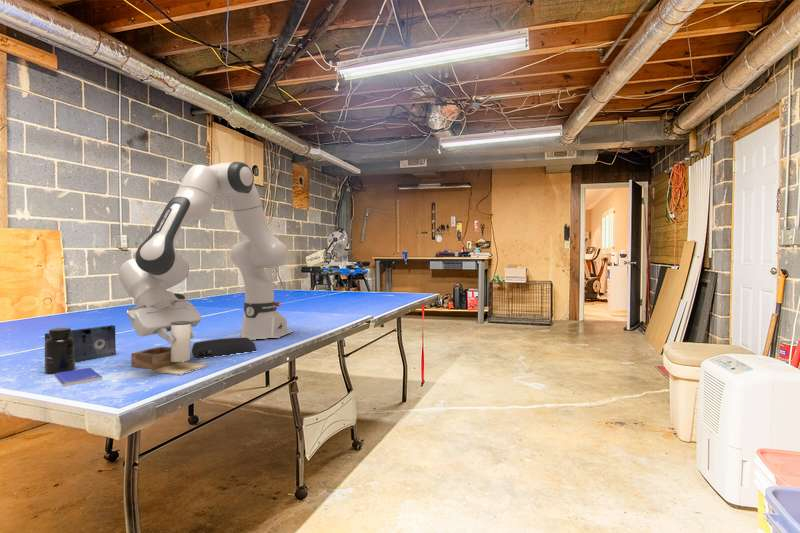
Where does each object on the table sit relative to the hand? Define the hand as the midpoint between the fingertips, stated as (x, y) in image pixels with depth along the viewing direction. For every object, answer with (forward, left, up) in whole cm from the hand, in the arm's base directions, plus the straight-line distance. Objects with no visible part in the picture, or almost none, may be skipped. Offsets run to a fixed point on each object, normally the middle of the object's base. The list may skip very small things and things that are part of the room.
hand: (182, 339), depth 121 cm
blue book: (+16, -20, -9) cm, 27 cm away
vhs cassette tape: (+3, -38, -9) cm, 39 cm away
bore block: (-2, -12, -9) cm, 15 cm away
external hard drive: (-22, -5, -9) cm, 24 cm away
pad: (0, -1, -9) cm, 9 cm away
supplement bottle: (+13, -32, -9) cm, 35 cm away
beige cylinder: (0, -1, -6) cm, 6 cm away
